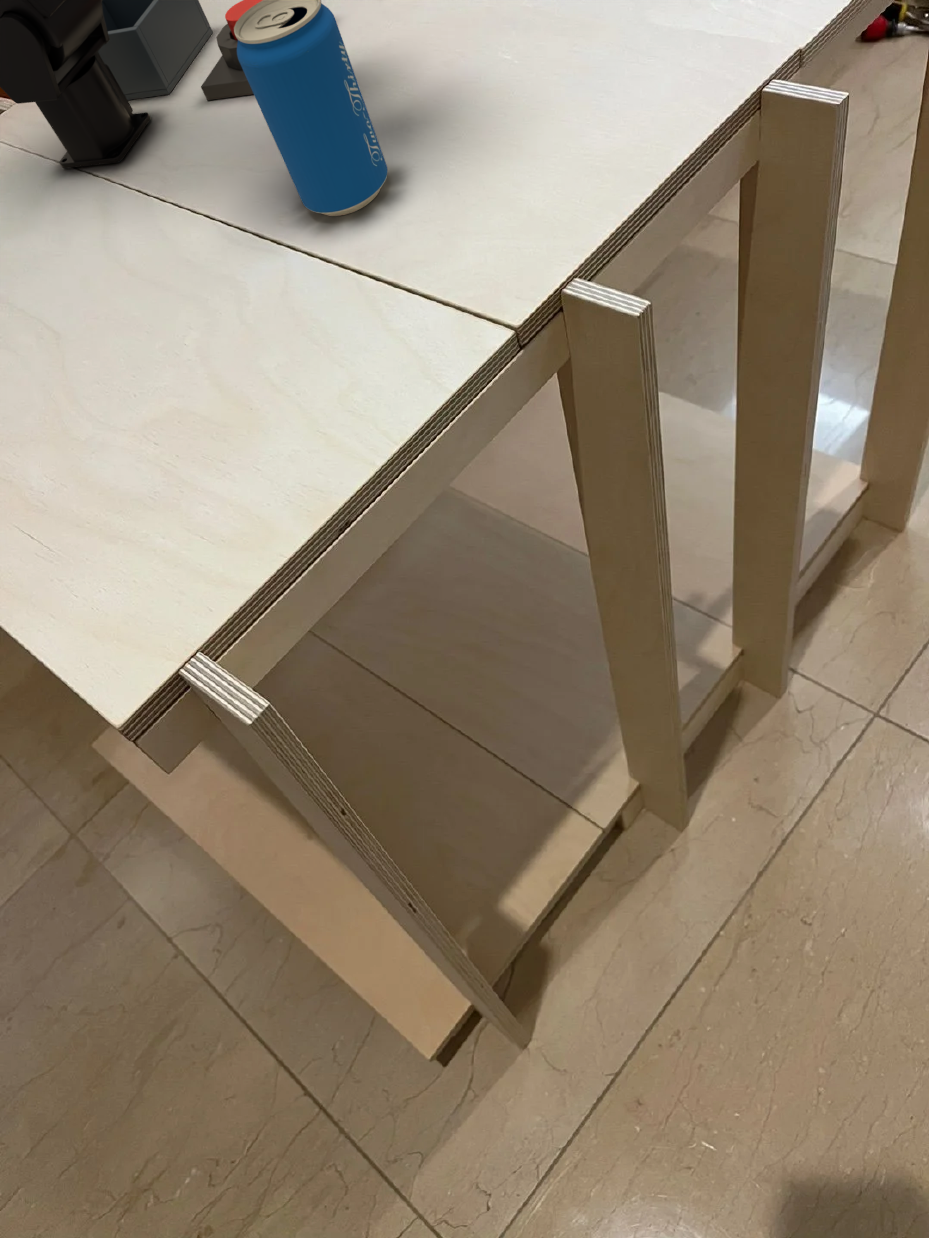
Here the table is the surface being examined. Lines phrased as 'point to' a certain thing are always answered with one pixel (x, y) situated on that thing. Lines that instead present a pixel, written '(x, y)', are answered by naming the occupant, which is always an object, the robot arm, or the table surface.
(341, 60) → the beverage can
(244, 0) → the button
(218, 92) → the panel
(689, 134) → the table surface
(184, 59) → the basket
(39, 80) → the robot arm
